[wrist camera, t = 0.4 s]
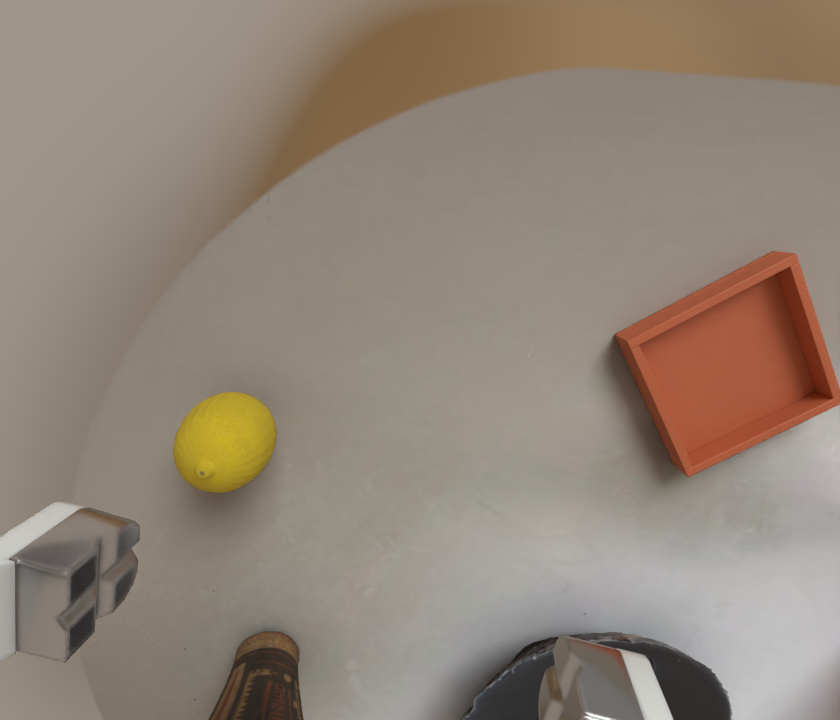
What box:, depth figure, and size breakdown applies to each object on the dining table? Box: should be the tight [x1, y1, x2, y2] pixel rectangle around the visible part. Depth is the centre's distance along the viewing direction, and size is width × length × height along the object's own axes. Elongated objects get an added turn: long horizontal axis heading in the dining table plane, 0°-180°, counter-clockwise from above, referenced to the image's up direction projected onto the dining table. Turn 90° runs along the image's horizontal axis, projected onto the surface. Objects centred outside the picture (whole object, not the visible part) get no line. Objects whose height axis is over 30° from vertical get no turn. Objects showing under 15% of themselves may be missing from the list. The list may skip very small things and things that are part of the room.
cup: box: [209, 632, 303, 720], centre depth 35 cm, size 9×9×10 cm
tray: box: [615, 251, 840, 477], centre depth 33 cm, size 11×11×2 cm
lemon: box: [173, 392, 276, 493], centre depth 30 cm, size 6×6×8 cm
